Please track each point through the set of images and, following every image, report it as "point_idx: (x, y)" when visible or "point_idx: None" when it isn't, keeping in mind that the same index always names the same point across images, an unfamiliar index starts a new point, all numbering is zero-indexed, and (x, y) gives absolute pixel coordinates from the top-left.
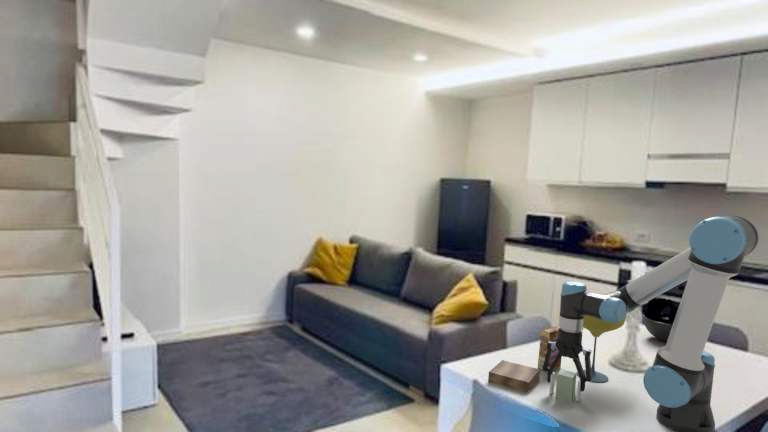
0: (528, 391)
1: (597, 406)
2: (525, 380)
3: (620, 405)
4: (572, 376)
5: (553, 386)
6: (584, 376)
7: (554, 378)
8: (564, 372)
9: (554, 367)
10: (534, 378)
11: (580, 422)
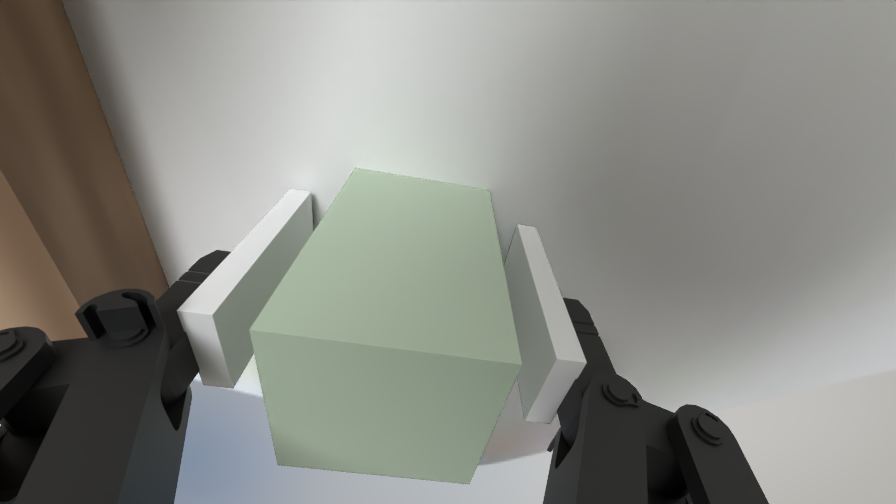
0: (162, 282)
1: (641, 283)
2: (57, 331)
3: (865, 191)
4: (461, 462)
5: (293, 240)
6: (626, 434)
7: (254, 275)
8: (342, 411)
9: (172, 500)
10: (41, 160)
11: (509, 446)
